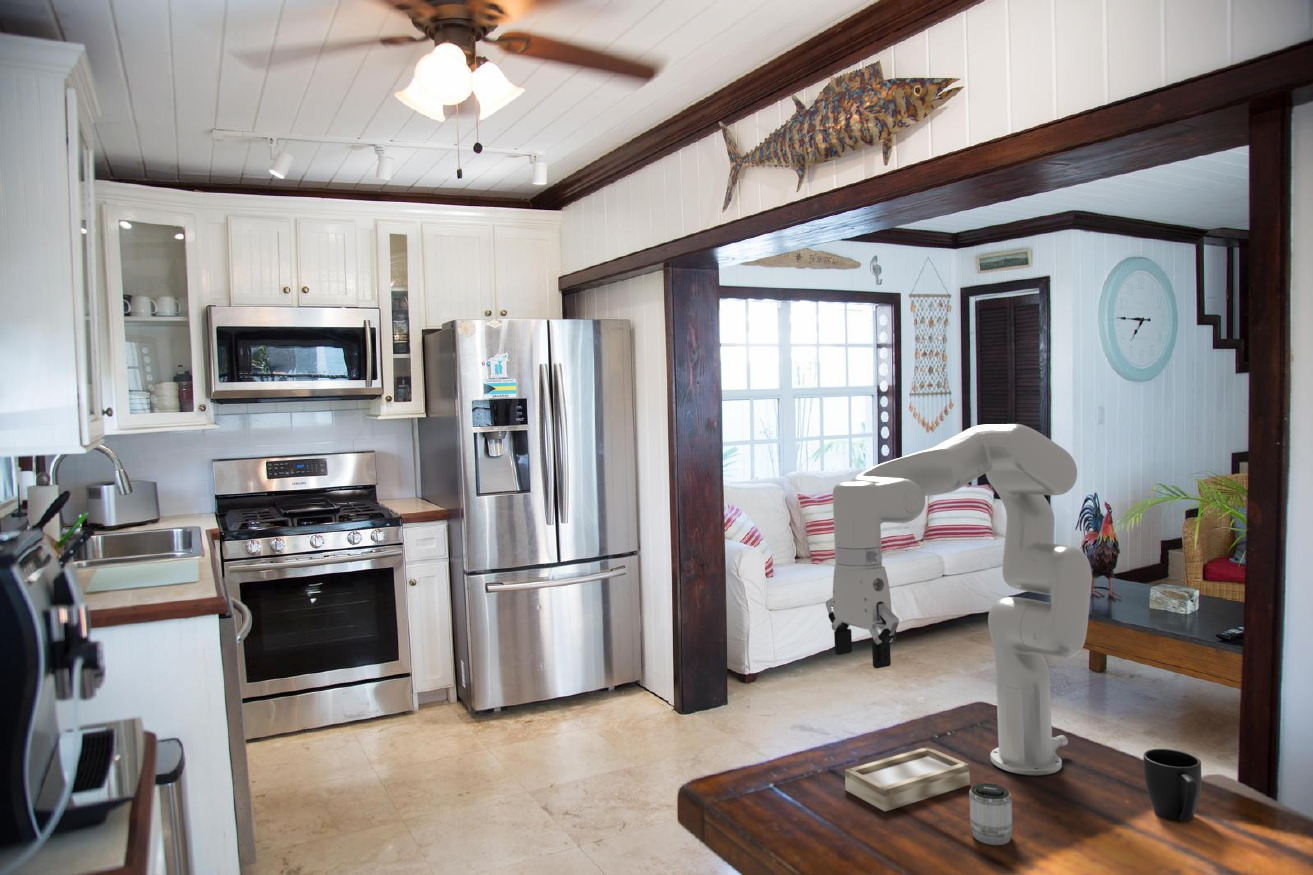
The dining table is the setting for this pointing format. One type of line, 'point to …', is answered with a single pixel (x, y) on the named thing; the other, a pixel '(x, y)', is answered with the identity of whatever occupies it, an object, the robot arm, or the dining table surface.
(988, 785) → the camera lens
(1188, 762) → the mug
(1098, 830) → the dining table surface
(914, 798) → the beige rimmed shallow tray
